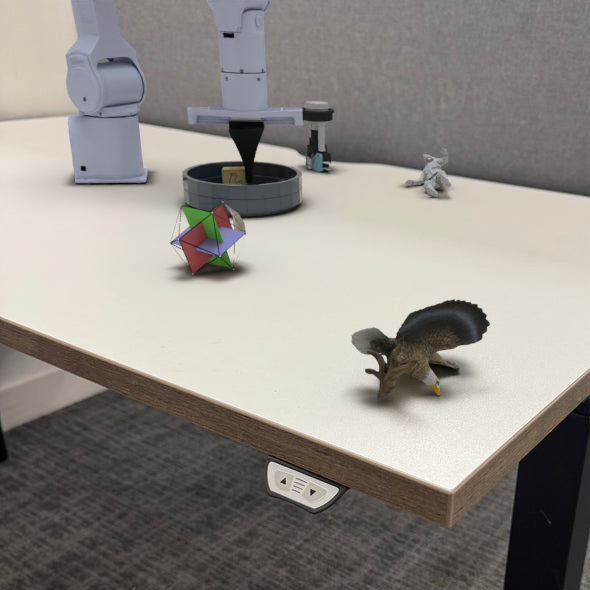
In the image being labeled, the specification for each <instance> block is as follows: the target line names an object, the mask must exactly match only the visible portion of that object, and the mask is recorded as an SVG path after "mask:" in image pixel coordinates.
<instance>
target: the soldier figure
mask: <svg viewBox="0 0 590 590" xmlns="http://www.w3.org/2000/svg"><path fill="white" fill-rule="evenodd" d="M441 154H442V155H443V157H440V158H438V157H435V156H432V155H430V154H428V153H427V154H426V153H425V154H424V153H423V154H422V158H423V161H424V163H425V165H424V168H423V169H422V171H421V173H420V176H419V178H418V179H407V180H406V181H405V182H404V185H406V184H407V187H409V186H410V185H411V186H421V185H423V187H424V190H425V191H426V193H427V194H428V196H432V197H434V198H438V197H440V194H439V192H438V191H437V190H438V189H439V188H440V187H441V186H442V185H444V186H446V187H447V188H451V187H452V183H451V181H450V180H449V178H448V175H447V173H446V172H445V170H443V168H442V167H443V166H445V165H447V164H448V163H449V152H448V149H447V148H441Z"/></svg>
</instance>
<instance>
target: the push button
mask: <svg viewBox="0 0 590 590" xmlns="http://www.w3.org/2000/svg"><path fill="white" fill-rule="evenodd" d="M300 109H302V114H303V121H304V122H305V123H306V124H308V132H309V133H308V137H309V138H308V143H309V144H307V145H306V149H305V167H306V168H308V169H309V170H314V171H316V172H319V173H320V172H329V171H332V170H333V169H332V168H330V165H333V163H332V154H331V153H330V152H329V151H328V145H327V144H326V125H327V124H329V122H331V121H332V120H334V119H333V118H334V116H333V114H334V113H335V109H334V108H331V107H330V106H329V102H327V101H322V100H308V101H304V106H303V107H300Z"/></svg>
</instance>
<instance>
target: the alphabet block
mask: <svg viewBox="0 0 590 590" xmlns="http://www.w3.org/2000/svg"><path fill="white" fill-rule="evenodd" d="M222 181H223V184H232V185H247V183H246V171H245V168H244V167H223V169H222Z"/></svg>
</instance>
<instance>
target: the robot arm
mask: <svg viewBox="0 0 590 590" xmlns="http://www.w3.org/2000/svg"><path fill="white" fill-rule="evenodd" d="M115 1H116V0H70V4H71V9H72V14H73V18H74V23H75V30H76V33H77V34H76V35H77V39H76V40H75V42H74V43H73V44H72V45H71V47H70V48H69V49H68V50H67V52H66V54H65V60H66V61H65V62H66V66H67V71H66V76H65V77H66V79H65V85H66V91H67V94H68V97H69V99H70V101H71V102H72V104H73V105H74V107H75V108H77V109H78V113H69V114H68V117H67V127H68V138H69V143H70V144H69V145H70V152H71V159H72V167H73V172H74V183H75V184H119V183H120V184H121V183H122V184H123V183H124V184H127V183H129V184H131V183H137V184H138V183H146V182H147V179H148V175H149V168H147V167H144V158H143V151H142V150H143V149H142V142H141V141H142V140H141V130H140V123H139V122H140V121H139V114H138V113H139V112H141V110H142V109H141V105H142V104H143V102H145V100H146V97H147V94H148V93H147V92H148V84H147V80H146V76H145V74H144V72H143V70H142V69H141V67H140V65H139V62H138V56H137V51H136V50H135V48H134V47H132V45H130V44H129V42H128V41H126V39H125V38H124V37H123V36H122V35H121V30H120V29H121V28H120V23H119V17H118V12H117V8H116V7H117V6H116V2H115ZM205 1H206V3H207V5H208V7H209V8H210V10H211V11H212V13H213V17H214V18H213V19H214V26H215V27H216V30H217V39H218V41H217V42H218V43H217V44H218V55H219V57H218V58H219V71H220V72H219V73H220V86H221V87H220V88H221V100H222V105H213V106H212V105H211V106H209V105H207V106H188V107H187V109H186V112H187V124H188V125H198V124H199V125H200V124H202V125H203V124H206V125H207V124H208V125H228V133H229V135H230V138H231V139H232V141H233V143H234V146H235V147H236V149H237V152H238V154H239V157H240V159H241V161H243V164H244V168H245V171H246V183H253V181H254V171H253V164H254V161H255V160H256V159H255V158H256V154H257V150H258V148H259V145H260V142H261V138H262V136H263V134H264V131H265V128H266V126H267V125H271V126H273V125H274V126H275V125H276V126H295V127H303V125H304V122H303V121H304V120H303V114H302V109H300V108H301V107H300V108H295V107H279V106H269V103H268V79H267V76H268V75H267V55H266V33H265V12H266V11H267V10H268V8H269V7H270V4H271V2H272V0H205ZM103 59H105V60H106V61H103V62H100V61H101V60H103ZM265 125H266V126H265Z"/></svg>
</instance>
